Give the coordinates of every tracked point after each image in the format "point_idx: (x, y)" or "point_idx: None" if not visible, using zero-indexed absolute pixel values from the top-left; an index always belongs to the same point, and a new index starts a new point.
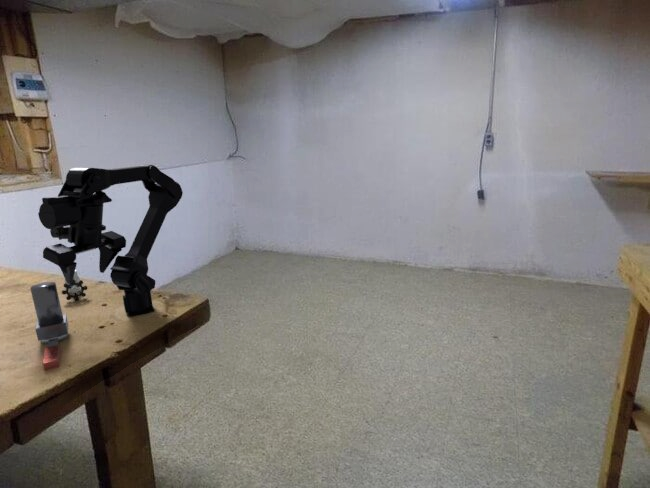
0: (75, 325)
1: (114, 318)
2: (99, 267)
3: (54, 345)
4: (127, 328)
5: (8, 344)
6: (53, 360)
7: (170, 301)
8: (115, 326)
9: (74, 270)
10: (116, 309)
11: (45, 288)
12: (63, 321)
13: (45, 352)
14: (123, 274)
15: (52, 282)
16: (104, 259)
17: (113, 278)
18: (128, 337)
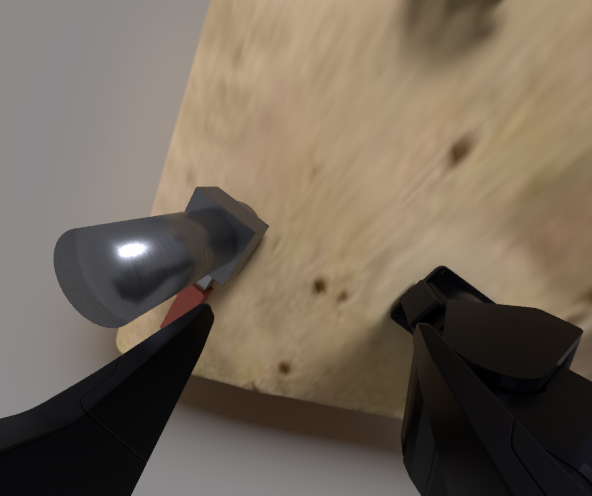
0: (300, 210)
1: (370, 278)
2: (425, 346)
3: (203, 282)
4: (334, 348)
5: (174, 148)
6: None
7: None
8: (332, 315)
9: (151, 445)
10: (430, 231)
11: (92, 321)
12: (222, 275)
13: (178, 297)
14: (421, 461)
15: (132, 285)
16: (458, 469)
17: (413, 375)
18: (302, 375)
